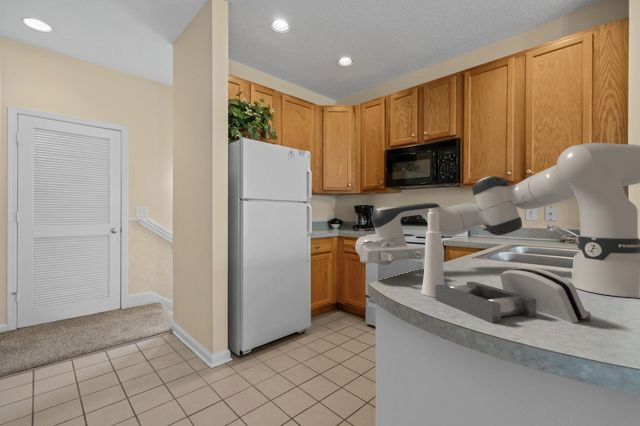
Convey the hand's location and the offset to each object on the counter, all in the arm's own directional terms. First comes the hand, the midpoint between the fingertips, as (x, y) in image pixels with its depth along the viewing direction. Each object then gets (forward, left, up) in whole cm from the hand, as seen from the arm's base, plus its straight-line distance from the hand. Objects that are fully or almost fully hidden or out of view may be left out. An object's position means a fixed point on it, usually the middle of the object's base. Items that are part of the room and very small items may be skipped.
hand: (407, 257), depth 87 cm
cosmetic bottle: (0, +11, -8) cm, 14 cm away
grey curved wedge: (-14, +28, -8) cm, 33 cm away
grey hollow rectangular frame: (-3, +23, -8) cm, 25 cm away
